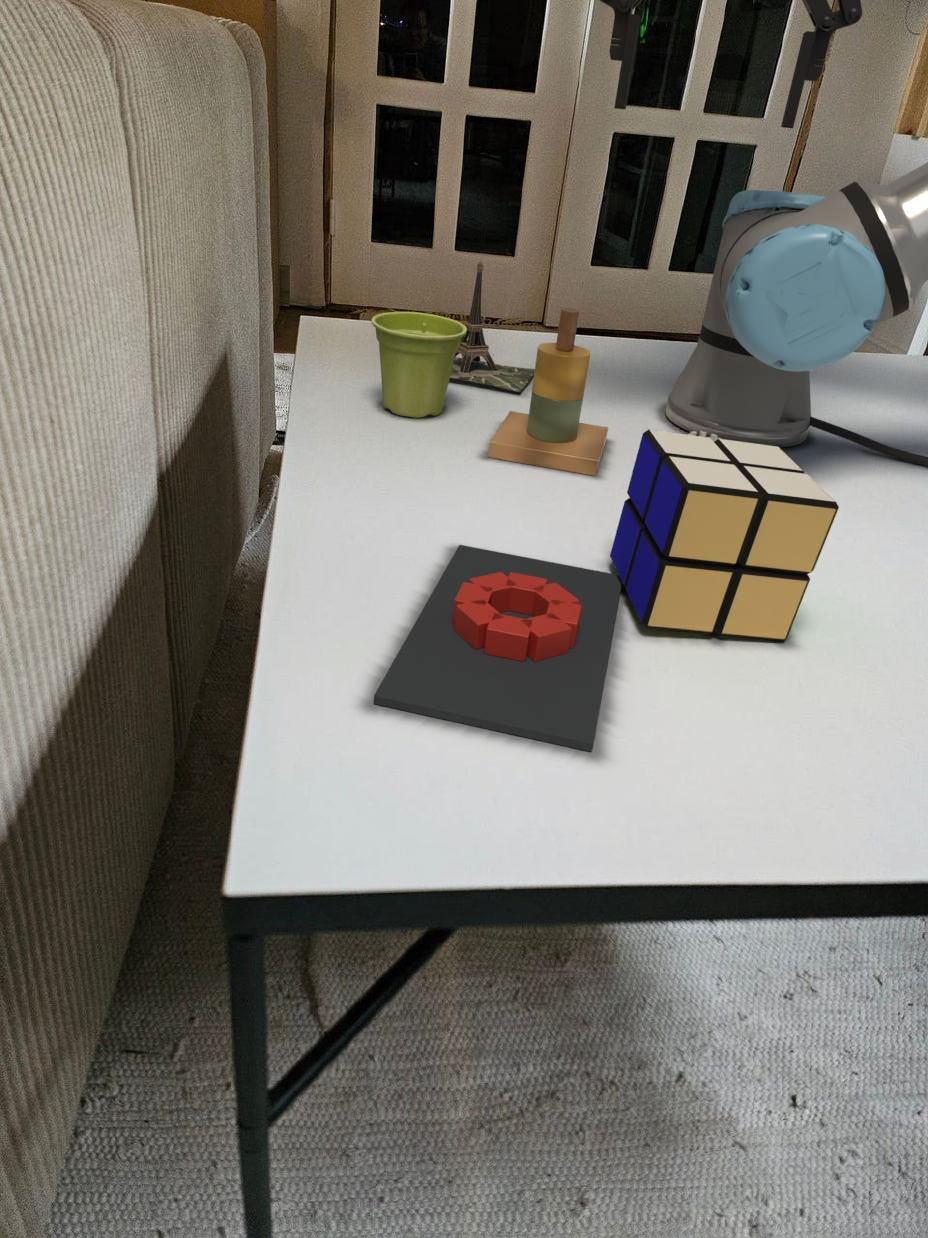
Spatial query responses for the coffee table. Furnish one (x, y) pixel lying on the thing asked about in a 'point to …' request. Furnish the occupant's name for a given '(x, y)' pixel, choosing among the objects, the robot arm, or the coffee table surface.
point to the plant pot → (416, 360)
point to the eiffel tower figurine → (484, 353)
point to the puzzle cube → (719, 536)
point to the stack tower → (554, 411)
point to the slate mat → (499, 687)
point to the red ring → (510, 634)
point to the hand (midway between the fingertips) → (702, 118)
